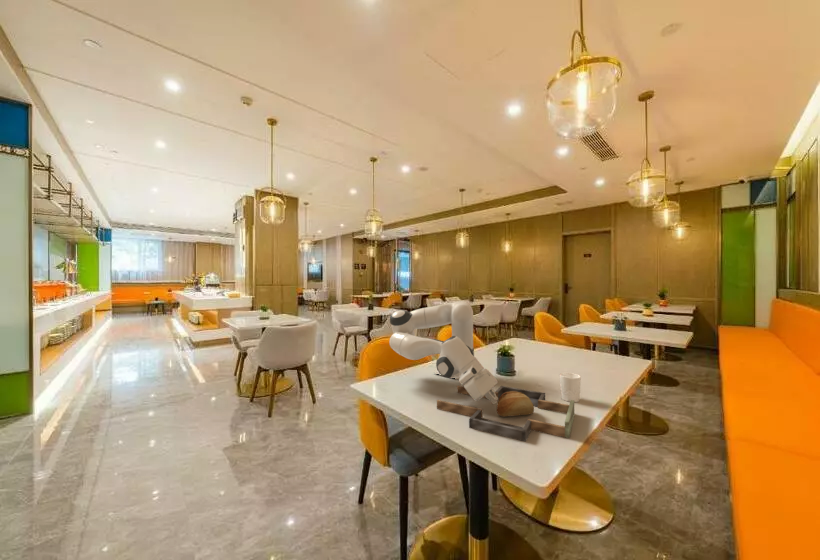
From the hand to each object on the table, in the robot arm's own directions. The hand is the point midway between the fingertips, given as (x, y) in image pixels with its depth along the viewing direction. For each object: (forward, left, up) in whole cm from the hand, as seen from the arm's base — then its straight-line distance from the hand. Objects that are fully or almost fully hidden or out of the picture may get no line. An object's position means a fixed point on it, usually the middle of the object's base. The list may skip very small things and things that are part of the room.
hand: (496, 402), depth 120 cm
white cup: (+23, +29, -4) cm, 37 cm away
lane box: (+2, +3, -4) cm, 5 cm away
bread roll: (+6, +2, -4) cm, 8 cm away
